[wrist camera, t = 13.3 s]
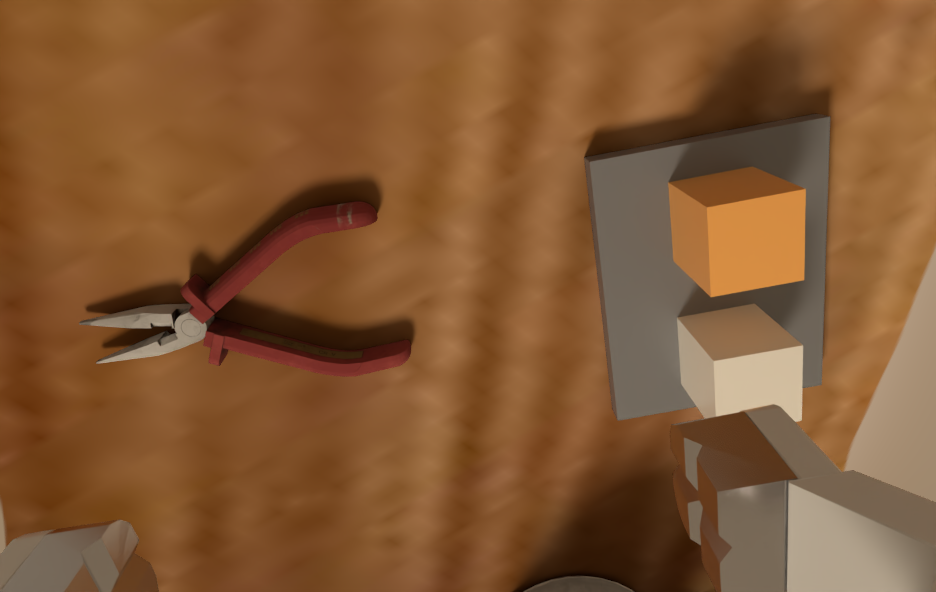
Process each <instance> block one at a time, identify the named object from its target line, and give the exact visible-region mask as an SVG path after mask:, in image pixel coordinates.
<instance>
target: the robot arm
mask: <svg viewBox="0 0 936 592" xmlns="http://www.w3.org/2000/svg"><path fill="white" fill-rule="evenodd" d="M670 447H671V450H672V452H673V454H674V456H675V458H676V459H677V461H678V463H679V465H678V466H677V468H676V469H675V471H674V472H673V474H672V475H673V484H674V493H675V498H676V502H677V506H678V511H679V514H680V517H681V519H682V522H683V525H684V527H685V529H686V531H687V533H688V535H689V538H690V539H691V540H693V541H694V542H696V543H698V544H699V545H701V553H702V564H703V566H704V568H705V570H706V572H707V574H708V576H709V578H710V580H711V582H712V584H713V586H714V588H715V590H716V592H936V502H934V501H931V500H928V499H926V498H923V497H921V496H918V495H915V494H913V493H910V492H907V491H905V490H903V489H900V488H898V487H895V486H892V485H890V484H887V483H884V482H882V481H879V480H877V479H874V478H872V477H869V476H867V475H864V474H862V473H859V472H856V471H854V470H851V471H845V472H841V470H840V469H839V468H838V467H837V466H836V465H835V464H834V463H833V462H832V461H831V460H830V459H829V458H828V457H827V456H826V454H825V453H824V452H823V451H822V450H821V449H820V448H819V447H818V446H817V445H816V444H815V443H814V442H813V441H812V439H811V438H810V437H809V436H808V435H807V434H806V433H805V432H804V431H803V430H802V429H801V428H800V427H799V426H798V425H797V423H796V422H795V421H794V420H793V419H792V418H791V417H790V416H789V415H788V414H787V413H786V412H785V411H784V410H783V409H782V407H780V406H778V405H775V404H772V405H767V406H762V407H757V408H752V409H748V410H743V411H740V412H738V413H732V414H727V415H721V416H716V417H710V418H705V419H700V420H694V421H689V422H683V423H678V424H672V425H671V428H670ZM138 542H139V539H138V537H137V535H136V533H135V531H134V530H133V528H132V526H131V524H130V523H129V522H125V521H122V520H113V521H107V522H100V523H93V524H87V525H80V526H73V527H67V528H60V529H56V530H48V531H42V532H36V533H30V534H25V535H23V536H20V537H18V538H16V539H14V540H12V541H11V542H10V544H9V545H8V546H7V547H6V548H5V549H4V551H3V552H2V553H1V554H0V592H159V590H158V584H157V578H156V575H155V572H154V570H153V568H152V566H151V564H150V562H148V561H146V560H145V559H143V558H142V557H140V556H139V555H137V554H135V551H136V548H137V545H138Z"/></svg>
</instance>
